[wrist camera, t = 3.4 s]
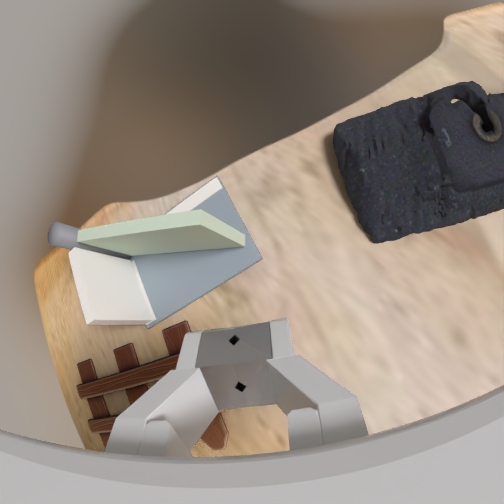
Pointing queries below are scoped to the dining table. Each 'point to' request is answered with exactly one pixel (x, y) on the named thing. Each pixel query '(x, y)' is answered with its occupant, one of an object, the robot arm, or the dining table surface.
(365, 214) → the dark slate chunk
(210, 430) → the decorative fence
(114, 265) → the fence post and white panel
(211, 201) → the card
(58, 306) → the dining table surface
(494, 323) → the dining table surface
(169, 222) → the green wall panel
